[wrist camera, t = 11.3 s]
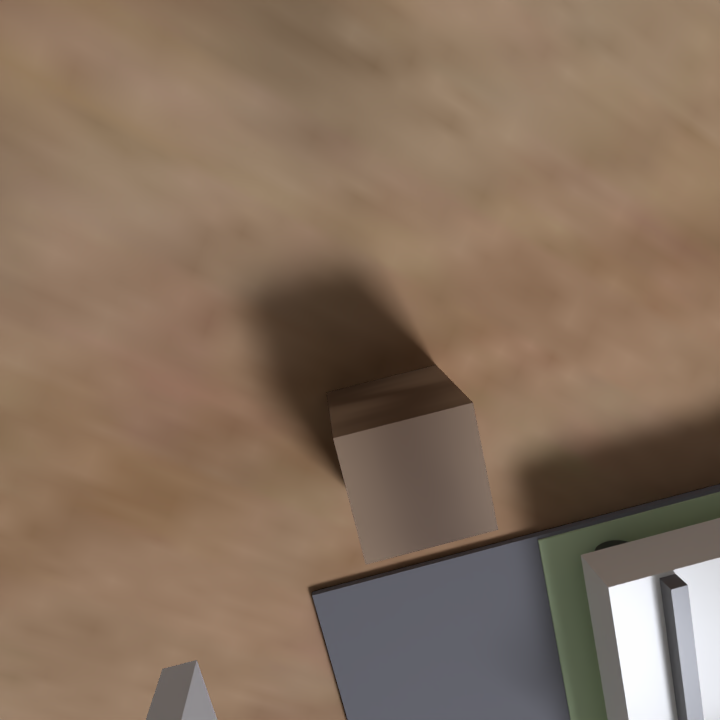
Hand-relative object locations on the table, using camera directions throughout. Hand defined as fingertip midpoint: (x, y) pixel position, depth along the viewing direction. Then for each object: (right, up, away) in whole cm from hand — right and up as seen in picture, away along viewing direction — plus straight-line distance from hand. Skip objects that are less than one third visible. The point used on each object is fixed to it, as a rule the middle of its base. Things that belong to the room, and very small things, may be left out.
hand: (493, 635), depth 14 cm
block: (-2, +3, +14) cm, 14 cm away
